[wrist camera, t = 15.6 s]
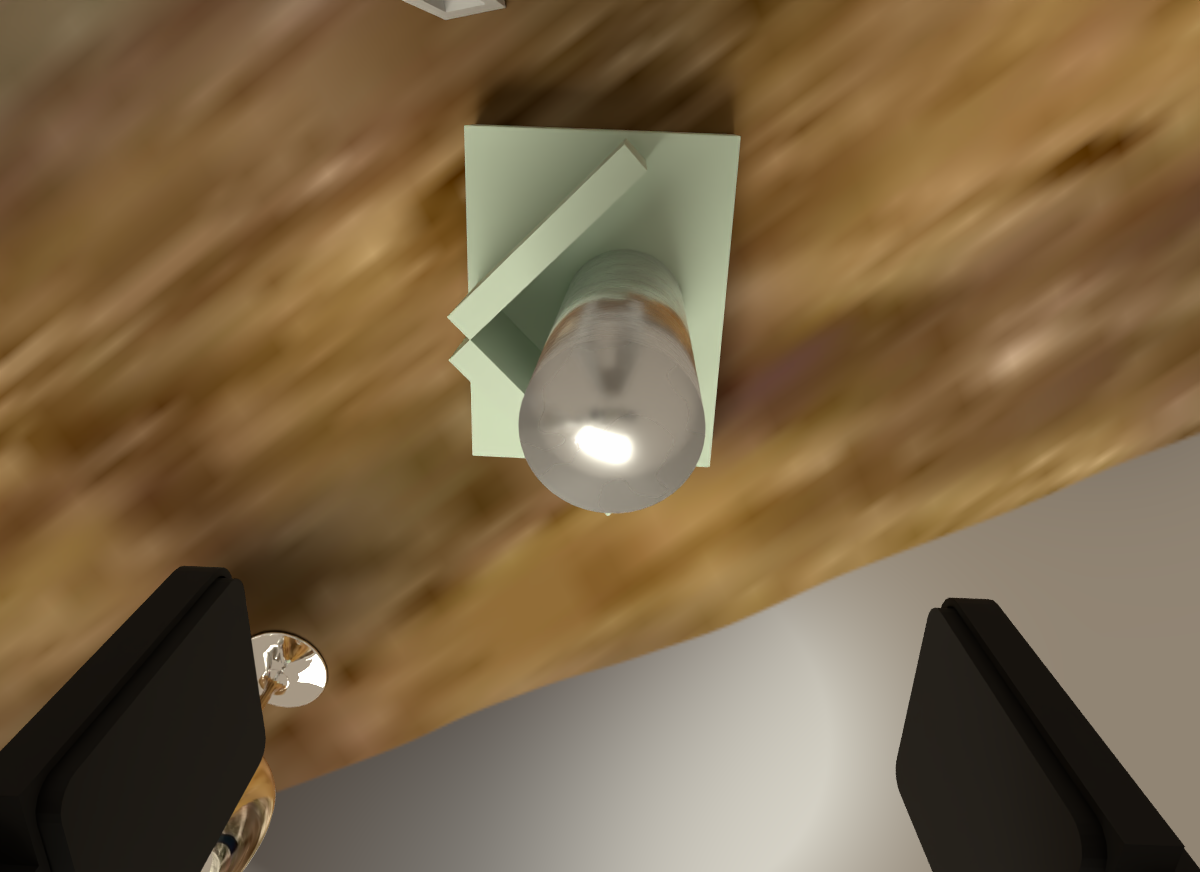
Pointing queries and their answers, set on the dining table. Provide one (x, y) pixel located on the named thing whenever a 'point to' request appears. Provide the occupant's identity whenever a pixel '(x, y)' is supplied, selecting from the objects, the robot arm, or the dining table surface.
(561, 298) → the v-block
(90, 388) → the dining table surface
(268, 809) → the wineglass
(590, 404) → the steel axle
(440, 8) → the stool
